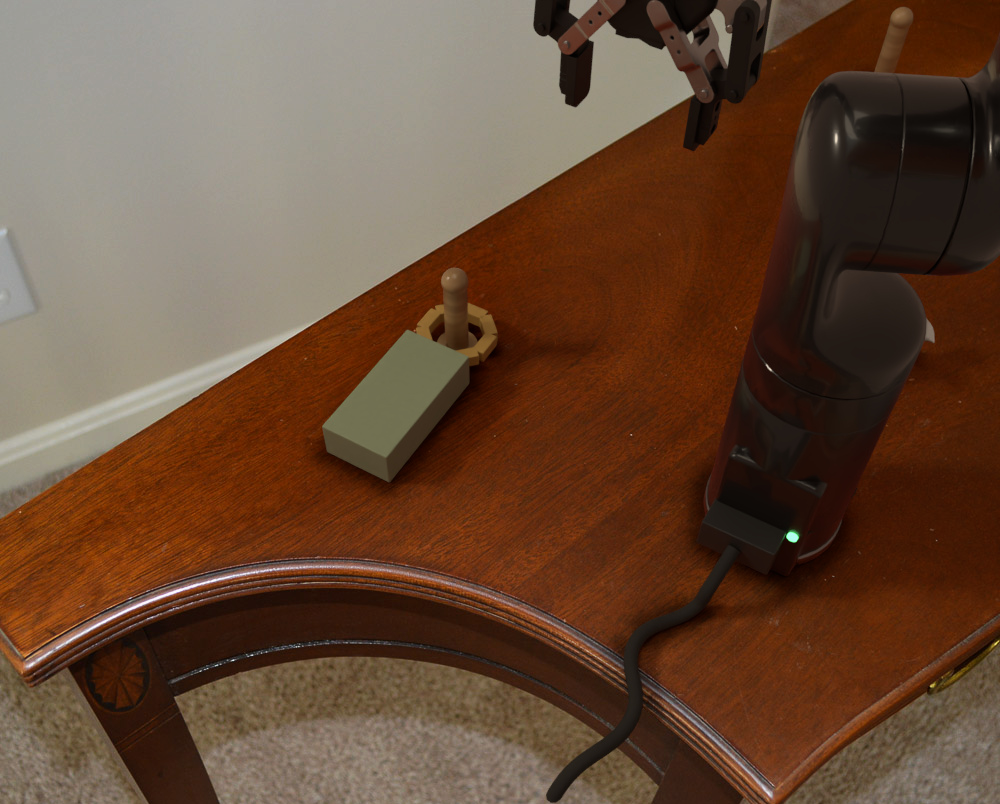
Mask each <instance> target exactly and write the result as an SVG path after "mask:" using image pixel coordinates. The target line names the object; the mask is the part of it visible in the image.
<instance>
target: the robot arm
mask: <svg viewBox="0 0 1000 804" xmlns="http://www.w3.org/2000/svg"><path fill="white" fill-rule="evenodd" d="M772 2H773V0H596V2H595V3H594V4H592V6H590V7H589V8H588V9H587V10H586V11H585V12H584V13H583V14H582V15H581V16H580V17H579V18H578V17H576V16H575V15H574V14H572V13H571V12H570V6H571V0H535V2H534V13H533V24H532V25H533V26H532V27H533V30H534V31H535V32H536V34H537V35H538V36H540V37H541V38H542V37H543V38H544V37H547V36H549V37H550V38H551V39H553V40H554V42H556V43H557V47H558V49H559V51H560V59H559V60H560V63H559V82H558V87H559V90H560V94H561V95H562V94H563V95H564V104H565V105H567V106H569V107H573V108H577V107H578V106H580V104H582V102H583V101H584V100H585V99H586V98H587V97H588V95H589V93H590V90H591V82H592V72H593V58H594V49H595V47H594V45H595V42H594V41H593V40H590V38H591V37H592V36H593V35H595V33H596V32H597V31H598V30H599V29H601V27H603V25H605V24H607V23H608V24H609V25H610V26H611V27H612V28H613V29H614V30H615V34H614V35H616V36H620V37H622V38H625V39H635V40H636V39H637V40H639V41H642V42H643V43H644V44H646V45H648V46H649V47H651V48H655V49H658V50H660V51H662V50H663V49H664V48H667V51H668V53H669V56H671V59H672V61H673V63H674V66H675V68H676V69H677V71H679V72H680V73H681V72H683V73H684V75H685V76H686V78H687V80H688V82H689V84H690V87H691V89H692V91H693V93H694V95H692V97H691V99H690V101H689V107H688V113H687V118H686V119H687V120H686V125H685V130H684V131H685V132H684V136H683V137H684V138H683V143H682V147H683V149H686V150H688V151H691V152H695V151H696V150H697V149H698V148H699V146H705V144H706V143H707V142H708V140H709V139H710V138H711V137H712V135H713V134H714V133H715V131H717V129H718V125H719V120H720V114H721V110H722V104H723V100H727V101H728V102H729V103H730V104H734V105H737V104H740V103H741V102H742V101H743V100H744V99H745V98H746V96H747V94H748V93H749V91H750V90H751V89H752V88H753V87H754V86H755V85H756V84H757V83H758V81H759V80H760V78H761V74H762V73H761V71H762V65H763V59H764V58H763V57H764V52H765V47H766V41H767V33H768V27H769V22H770V15H771V9H772ZM715 10H717V11H719V12H720V13H721V14H722V16H723V18H724V26H725V28H724V30H725V32H726V33H727V34H730V35H731V37H730V45H729V54H728V61H726V60H725V58H724V55H723V53H722V51H721V49H720V45H719V43H720V35H719V32H718V30H717V28H716V26H715V23H714V21H713V19H712V17H711V14H712V13H714V12H715ZM691 32H692V36H693V39H692V42H690V40H689V37H688V35H689V34H690V33H691ZM791 152H792V153H791V155H790V161H789V166H788V170H787V177H786V181H785V187H784V192H783V198H782V203H781V208H780V211H779V217H778V221H777V227H776V230H775V234H774V238H773V242H772V246H771V250H770V254H769V257H768V262H767V266H766V270H765V275H764V279H763V283H762V288H761V291H760V296H759V300H758V304H757V308H756V312H755V314H754V319H753V322H752V326H751V329H750V332H749V336H748V340H747V344H746V347H745V350H744V353H743V357H742V359H741V360H742V361H741V363H740V367H739V371H738V376H737V378H736V381H735V385H734V390H733V393H732V397H731V401H730V404H729V407H728V411H727V416H726V419H725V422H724V425H723V430H722V432H721V436H720V440H719V444H718V448H717V451H716V455H715V459H714V464H713V467H712V471H711V473H710V475H709V478H708V480H707V482H706V486H705V490H704V495H703V502H702V503H703V504H702V505H703V512H704V517H703V519H702V521H701V523H700V527H699V531H698V534H697V538H696V543H697V544H699V545H701V546H703V547H705V548H707V549H710V550H712V551H714V552H716V553H718V554H720V555H721V556H720V557H719V559H718V560H717V562H716V564H715V565H714V566H713V568H712V570H711V571H710V573H709V574H708V576H707V577H706V579H705V580H704V582H703V583H702V585H701V587H700V589H699V590H698V592H697V593H696V595H695V597H694V598H693V599H692V600H690V602H688V603H687V604H686V605H684V606H683V607H681V608H679V609H677V610H674V611H671V612H669V613H666V614H662V615H659V616H657V617H654V618H652V619H649V620H647V621H645V622H643V623H642V624H641V625H639V626H638V627H637V628H636V629H634V631H633V632H632V634H630V636H629V638H628V640H627V641H626V644H625V647H624V650H623V652H624V653H623V670H624V676H625V677H624V678H625V683H626V688H627V696H628V697H627V700H628V701H627V706H626V710H625V713H624V714H623V716H622V718H621V720H620V721H619V723H618V724H617V725H616V726H615V727H614V728H613V730H611V732H609V733H608V734H607V735H605V736H604V737H603V738H602V739H599V741H597V742H595V743H594V744H592V745H591V746H589V747H588V748H587V749H585V750H583V751H582V752H581V753H580V754H578V755H577V756H575V757H574V758H573V759H572V760H571V761H570V762H569V763H568V764H566V765H565V767H564V768H563V769H562V770H561V771H560V772H559V774H558V775H557V776H556V777H555V779H554V780H553V781H552V783H551V785H550V786H549V788H548V789H547V792H546V794H545V797H546V798H545V799H546V801H548V802H549V803H550V804H553V803H554V804H557V803H558V802H559V801H561V800H562V798H563V797H564V795H565V794H566V792H567V791H568V789H569V788H570V787H571V785H572V784H573V783H574V782H575V781H576V780H577V779H578V778H579V777H580V776H581V775H582V774H583V773H584V772H586V770H588V769H589V768H590V767H592V766H593V765H594V764H596V763H598V762H599V761H601V760H602V759H603V758H604V757H606V756H608V755H610V754H611V753H612V752H614V751H615V750H616V749H618V748H619V747H620V746H621V745H622V744H623V743H625V741H626V740H627V739H628V738H629V737H630V736H631V734H632V733H633V732H634V731H635V728H636V726H637V725H638V723H639V721H640V719H641V715H642V713H643V712H642V711H643V706H644V692H643V691H644V690H643V684H642V678H641V674H640V669H639V654H640V651H641V649H642V646H644V643H645V642H646V641H648V639H649V638H650V637H652V636H653V635H656V634H657V633H659V632H662V631H665V630H667V629H670V628H673V627H676V626H678V625H681V624H683V623H686V622H688V621H689V620H691V619H692V618H694V617H695V616H697V615H698V614H699V613H701V612H702V611H703V610H704V609H705V608H706V607H707V606H708V604H709V603H710V601H711V600H712V599H713V597H714V595H715V593H716V592H717V590H718V589H719V588H720V586H721V585H722V583H723V581H724V579H726V577H727V575H728V573H729V572H730V570H731V568H732V567H733V565H734V564H735V563H736V562H737V563H740V564H741V565H744V566H746V567H748V568H750V569H752V570H755V571H757V572H759V573H761V574H763V575H765V576H767V575H768V574H769V572H770V571H772V572H774V573H777V574H779V575H781V576H783V577H788V576H790V574H791V572H792V570H793V569H794V567H795V566H798V565H802V564H806V563H808V562H811V561H812V560H814V559H817V558H818V557H820V556H821V555H822V554H824V553H825V552H826V551H827V550H828V549H829V548H830V546H831V545H832V544H833V542H834V540H835V538H836V537H837V535H838V532H839V530H840V528H841V526H842V522H843V518H844V515H845V513H846V512H847V509H848V507H849V505H850V502H851V500H853V499H854V497H855V495H856V492H857V490H858V485H859V483H860V481H861V478H862V476H863V474H864V472H865V470H866V468H867V466H868V463H869V462H870V461H871V457H872V456H873V453H874V452H875V449H876V447H877V445H878V442H879V440H880V438H881V436H882V434H883V432H884V430H885V428H886V426H887V423H888V421H889V420H890V416H891V414H892V412H893V410H894V408H895V406H896V404H897V402H898V400H899V398H900V397H901V394H902V391H903V389H904V387H905V385H906V384H907V381H908V379H909V376H910V374H911V373H912V371H913V368H914V366H915V364H916V362H917V360H918V357H919V355H920V353H921V351H922V347H923V346H924V342H925V341H924V340H925V336H926V325H927V320H926V318H927V313H926V309H925V306H924V304H923V301H922V300H921V298H920V296H919V294H918V292H917V291H916V289H914V287H913V286H912V285H911V283H909V281H908V280H907V279H906V278H905V277H904V276H902V275H916V276H933V277H948V276H950V277H951V276H964V275H969V274H973V273H976V272H979V271H981V270H984V269H985V268H987V267H988V266H989V265H991V264H992V263H993V262H994V261H996V259H998V257H999V256H1000V31H999V33H998V36H997V39H996V42H995V45H994V48H993V50H992V52H991V54H990V56H989V58H988V59H987V61H986V63H985V65H984V66H983V67H982V69H980V70H979V71H978V72H977V73H976V74H974V75H972V76H968V77H962V76H961V77H959V76H945V75H930V74H929V75H928V74H910V73H895V72H894V73H882V72H874V71H866V70H865V71H864V70H862V71H861V70H844V71H837V72H834V73H831V74H829V75H828V76H826V77H825V78H824V79H823V80H822V81H821V82H820V83H819V84H818V85H817V86H816V88H815V89H814V91H813V92H812V93H811V96H810V97H809V99H808V102H806V106H805V107H804V109H803V112H802V115H801V119H800V121H799V124H798V127H797V130H796V136H795V139H794V143H793V147H792V151H791ZM901 274H902V275H901Z"/></svg>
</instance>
